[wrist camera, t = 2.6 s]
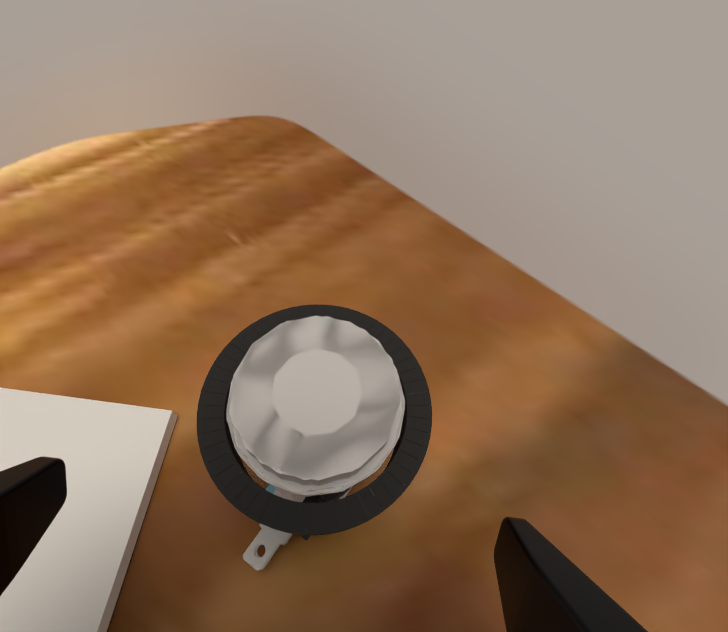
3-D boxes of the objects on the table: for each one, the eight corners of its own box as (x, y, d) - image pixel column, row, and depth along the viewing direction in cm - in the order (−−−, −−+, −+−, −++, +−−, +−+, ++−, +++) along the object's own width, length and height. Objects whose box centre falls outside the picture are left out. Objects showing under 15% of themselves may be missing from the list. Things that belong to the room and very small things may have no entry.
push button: (310, 610, 15) (296, 687, 7) (200, 517, 16) (65, 477, 8) (407, 454, 18) (484, 365, 10) (308, 384, 19) (297, 247, 11)
